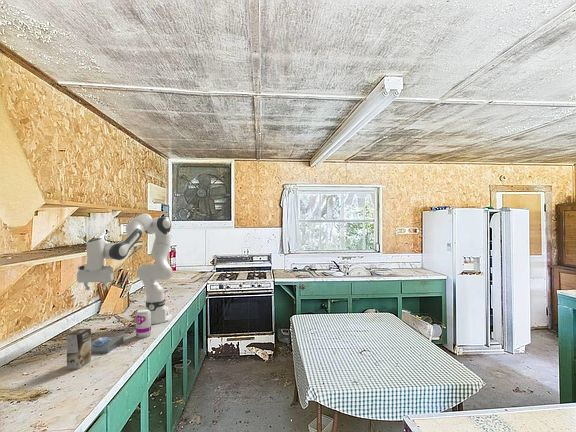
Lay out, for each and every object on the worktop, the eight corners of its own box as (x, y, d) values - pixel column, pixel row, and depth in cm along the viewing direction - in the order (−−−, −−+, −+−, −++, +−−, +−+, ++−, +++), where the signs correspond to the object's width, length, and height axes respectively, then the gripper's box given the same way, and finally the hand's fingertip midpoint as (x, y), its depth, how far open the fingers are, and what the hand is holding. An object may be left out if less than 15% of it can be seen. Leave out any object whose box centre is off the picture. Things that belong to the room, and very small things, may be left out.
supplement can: (145, 338, 197) (145, 312, 197) (133, 337, 199) (132, 312, 199) (153, 333, 205) (153, 309, 205) (141, 333, 207) (141, 308, 207)
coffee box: (79, 369, 158) (79, 334, 158) (66, 369, 158) (65, 334, 158) (91, 360, 167) (91, 328, 167) (79, 360, 167) (78, 328, 167)
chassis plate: (99, 342, 192) (99, 336, 193) (123, 342, 192) (123, 336, 192) (81, 353, 176) (81, 347, 177) (107, 353, 176) (107, 347, 176)
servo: (103, 344, 187) (102, 334, 188) (110, 344, 187) (109, 334, 187) (93, 351, 178) (92, 340, 178) (100, 351, 178) (100, 340, 178)
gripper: (115, 265, 200) (116, 288, 200) (81, 265, 200) (82, 289, 200) (109, 266, 194) (110, 290, 193) (74, 267, 194) (75, 291, 194)
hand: (95, 289), depth 197 cm, fingers open, 8 cm apart
